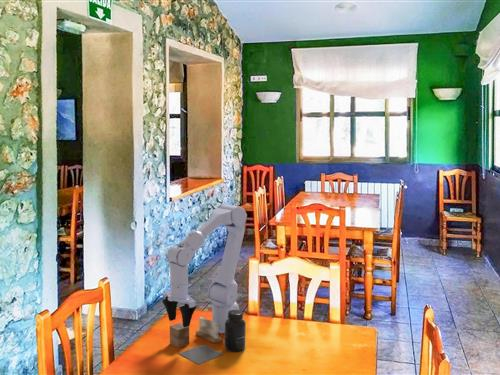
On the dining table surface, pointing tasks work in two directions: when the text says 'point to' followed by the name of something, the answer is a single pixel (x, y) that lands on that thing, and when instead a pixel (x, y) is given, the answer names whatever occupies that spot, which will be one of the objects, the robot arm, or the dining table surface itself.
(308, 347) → the dining table surface
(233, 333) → the supplement bottle
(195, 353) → the coaster
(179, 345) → the walnut block
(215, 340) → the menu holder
